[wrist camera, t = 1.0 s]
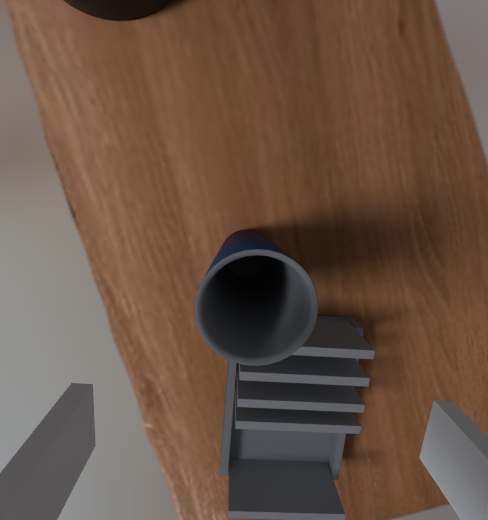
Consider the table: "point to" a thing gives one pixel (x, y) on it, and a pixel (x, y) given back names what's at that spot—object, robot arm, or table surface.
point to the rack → (294, 425)
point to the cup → (255, 302)
